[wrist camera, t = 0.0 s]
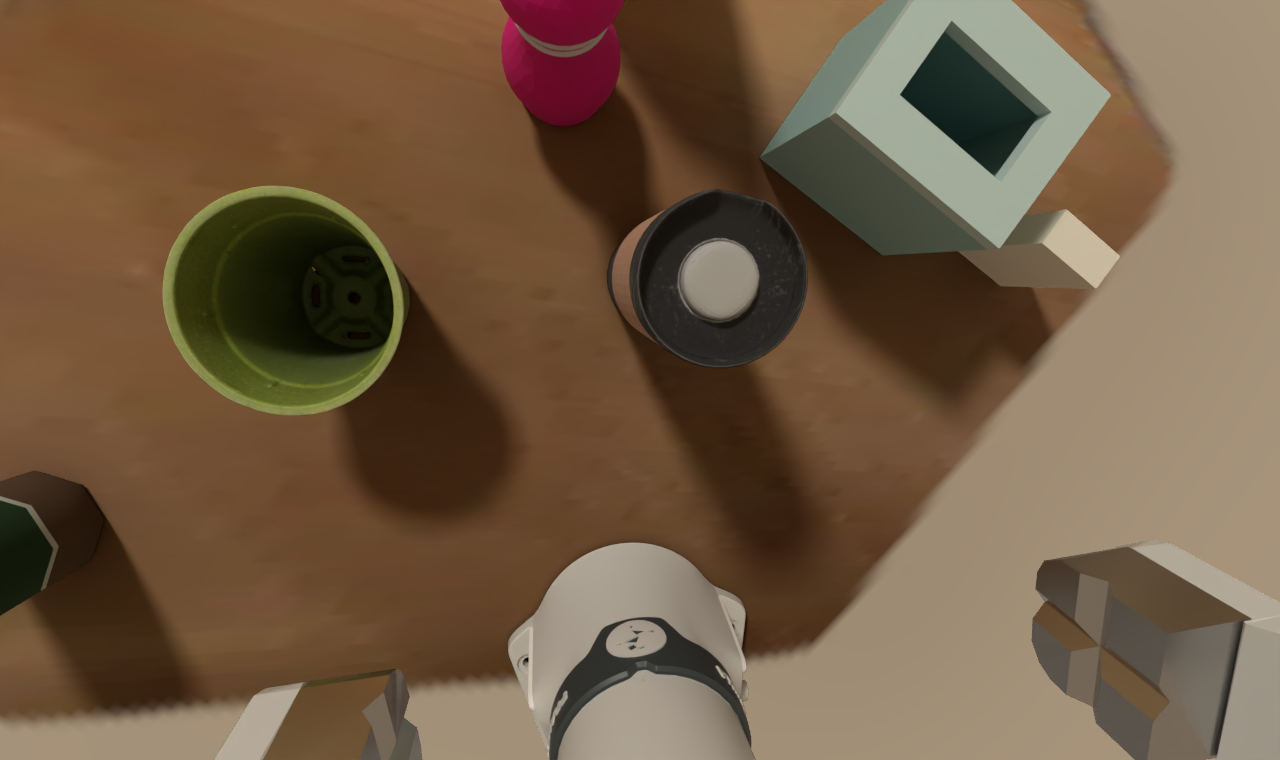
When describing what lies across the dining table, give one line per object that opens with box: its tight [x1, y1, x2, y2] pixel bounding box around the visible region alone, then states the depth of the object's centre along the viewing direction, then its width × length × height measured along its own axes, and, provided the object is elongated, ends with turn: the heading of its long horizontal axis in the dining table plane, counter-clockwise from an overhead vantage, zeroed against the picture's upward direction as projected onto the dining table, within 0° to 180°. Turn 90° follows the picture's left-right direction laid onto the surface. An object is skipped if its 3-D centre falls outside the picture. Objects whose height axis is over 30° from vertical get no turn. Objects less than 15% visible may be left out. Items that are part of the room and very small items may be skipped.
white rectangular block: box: [958, 210, 1120, 289], centre depth 44 cm, size 5×2×9 cm, turn 55°
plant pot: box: [163, 186, 410, 416], centre depth 38 cm, size 12×12×11 cm
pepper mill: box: [500, 0, 625, 126], centre depth 33 cm, size 7×7×20 cm
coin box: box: [759, 0, 1111, 255], centre depth 40 cm, size 12×10×13 cm
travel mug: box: [607, 189, 808, 368], centre depth 36 cm, size 8×8×20 cm
